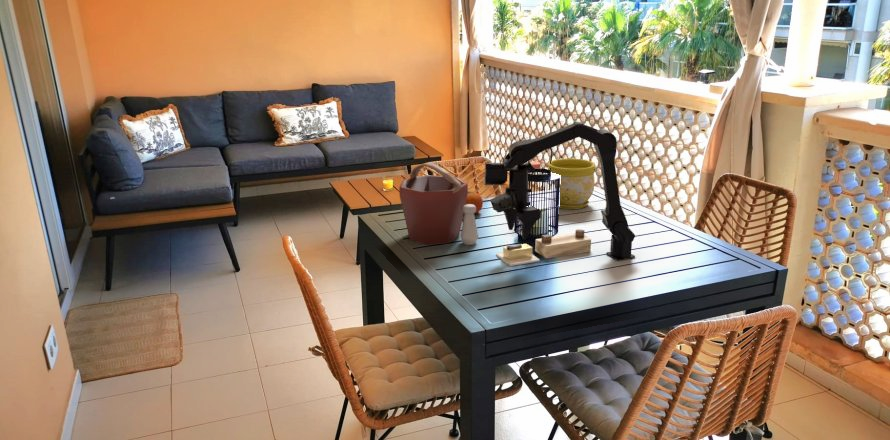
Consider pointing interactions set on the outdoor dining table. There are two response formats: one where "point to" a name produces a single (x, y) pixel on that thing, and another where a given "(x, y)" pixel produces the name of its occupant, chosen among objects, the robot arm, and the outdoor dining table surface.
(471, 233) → the salt shaker
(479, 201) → the fruit
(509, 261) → the mat
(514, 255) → the tan slotted block
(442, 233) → the bucket
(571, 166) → the flowerpot
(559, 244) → the plane body
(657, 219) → the outdoor dining table surface
